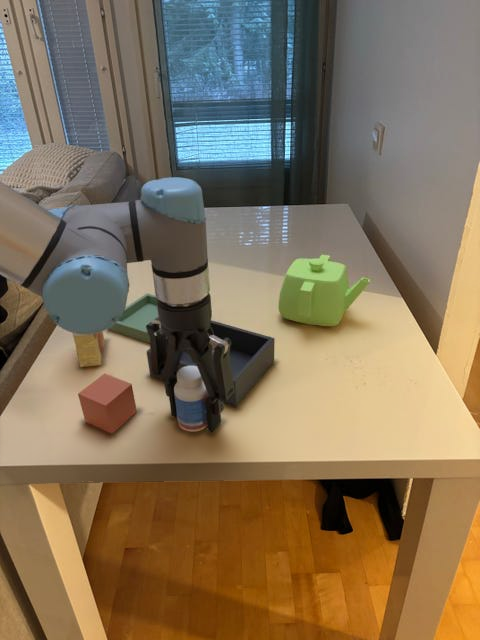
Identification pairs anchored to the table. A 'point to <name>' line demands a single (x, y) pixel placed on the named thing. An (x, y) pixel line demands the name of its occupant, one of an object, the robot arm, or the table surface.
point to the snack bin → (238, 358)
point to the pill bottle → (190, 399)
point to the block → (107, 403)
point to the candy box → (89, 348)
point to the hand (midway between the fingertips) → (196, 418)
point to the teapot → (317, 291)
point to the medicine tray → (137, 318)
